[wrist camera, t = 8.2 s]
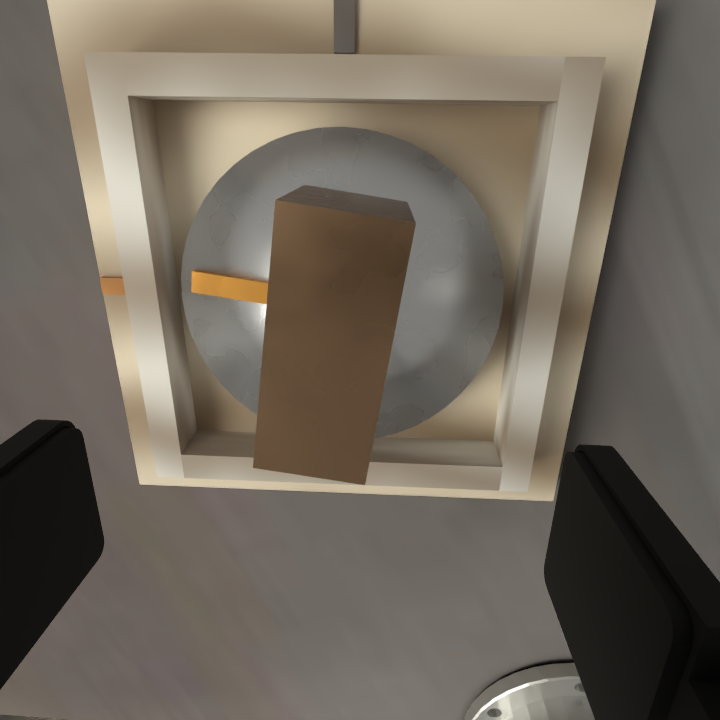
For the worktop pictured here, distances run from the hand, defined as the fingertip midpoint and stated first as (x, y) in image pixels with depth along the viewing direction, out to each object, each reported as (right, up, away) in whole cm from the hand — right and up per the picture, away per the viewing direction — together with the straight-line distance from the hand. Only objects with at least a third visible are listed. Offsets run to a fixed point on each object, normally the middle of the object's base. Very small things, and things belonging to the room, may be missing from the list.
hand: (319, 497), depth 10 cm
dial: (0, +5, +10) cm, 12 cm away
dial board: (0, +6, +12) cm, 13 cm away
